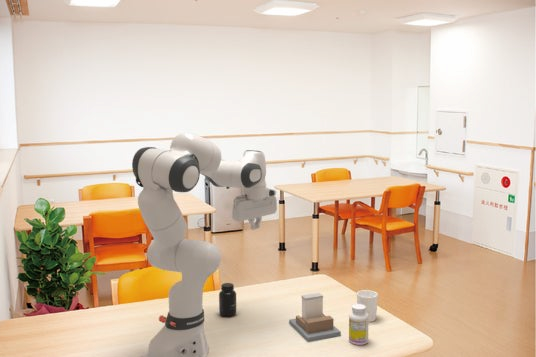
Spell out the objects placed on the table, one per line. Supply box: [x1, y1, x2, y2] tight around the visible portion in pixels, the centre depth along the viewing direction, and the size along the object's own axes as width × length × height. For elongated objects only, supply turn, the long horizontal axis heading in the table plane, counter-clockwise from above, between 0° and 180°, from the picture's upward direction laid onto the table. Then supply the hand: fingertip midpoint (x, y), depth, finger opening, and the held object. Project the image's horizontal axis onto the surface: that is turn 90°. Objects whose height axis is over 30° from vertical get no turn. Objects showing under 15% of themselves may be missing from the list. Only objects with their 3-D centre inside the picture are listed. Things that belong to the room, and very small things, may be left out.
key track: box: [288, 313, 342, 343], centre depth 196 cm, size 16×13×6 cm
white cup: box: [356, 289, 379, 323], centre depth 205 cm, size 8×8×10 cm
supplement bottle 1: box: [218, 282, 237, 318], centre depth 211 cm, size 7×7×12 cm
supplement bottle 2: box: [348, 303, 369, 346], centre depth 186 cm, size 7×7×13 cm
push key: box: [301, 292, 324, 321], centre depth 197 cm, size 3×7×11 cm, turn 111°
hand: (255, 228), depth 203 cm, fingers closed
